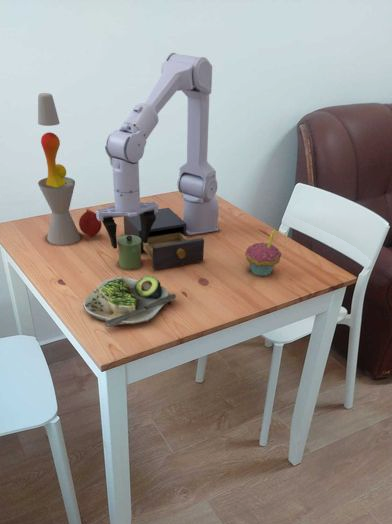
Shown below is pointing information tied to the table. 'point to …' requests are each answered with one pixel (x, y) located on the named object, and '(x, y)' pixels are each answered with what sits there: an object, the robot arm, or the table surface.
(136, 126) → the robot arm
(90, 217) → the onion
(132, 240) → the pot
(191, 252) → the drawer
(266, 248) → the cupcake
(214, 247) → the table surface
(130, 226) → the cabinet
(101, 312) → the avocado toast plate
